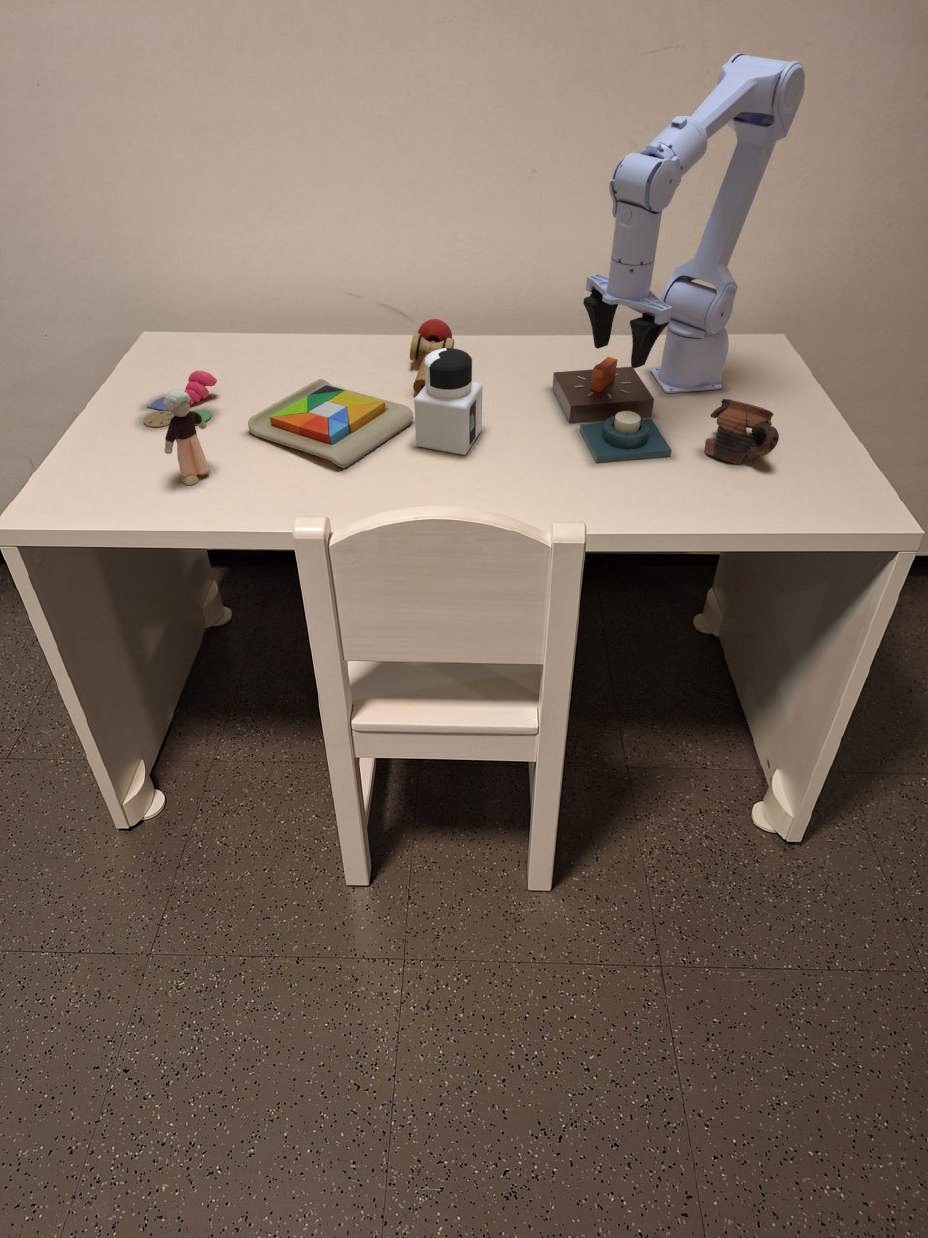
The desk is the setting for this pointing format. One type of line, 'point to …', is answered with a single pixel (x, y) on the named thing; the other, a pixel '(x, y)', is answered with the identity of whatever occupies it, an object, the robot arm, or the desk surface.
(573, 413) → the dial board
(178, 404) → the grandmother figurine
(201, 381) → the toy pieces
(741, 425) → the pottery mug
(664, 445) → the button block
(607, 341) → the robot arm
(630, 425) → the button
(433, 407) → the container
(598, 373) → the dial knob
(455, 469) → the desk surface
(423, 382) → the kendama
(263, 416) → the wooden puzzle
